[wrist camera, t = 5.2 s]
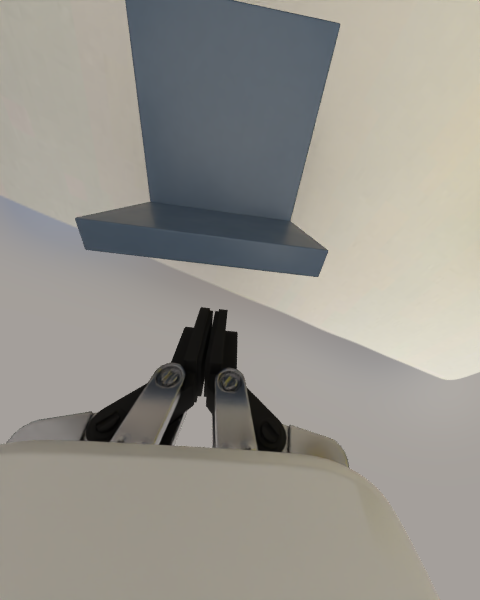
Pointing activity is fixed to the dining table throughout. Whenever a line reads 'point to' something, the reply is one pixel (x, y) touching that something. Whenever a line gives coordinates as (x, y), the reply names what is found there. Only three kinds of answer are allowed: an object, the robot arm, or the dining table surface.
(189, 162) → the chair
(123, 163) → the dining table surface
